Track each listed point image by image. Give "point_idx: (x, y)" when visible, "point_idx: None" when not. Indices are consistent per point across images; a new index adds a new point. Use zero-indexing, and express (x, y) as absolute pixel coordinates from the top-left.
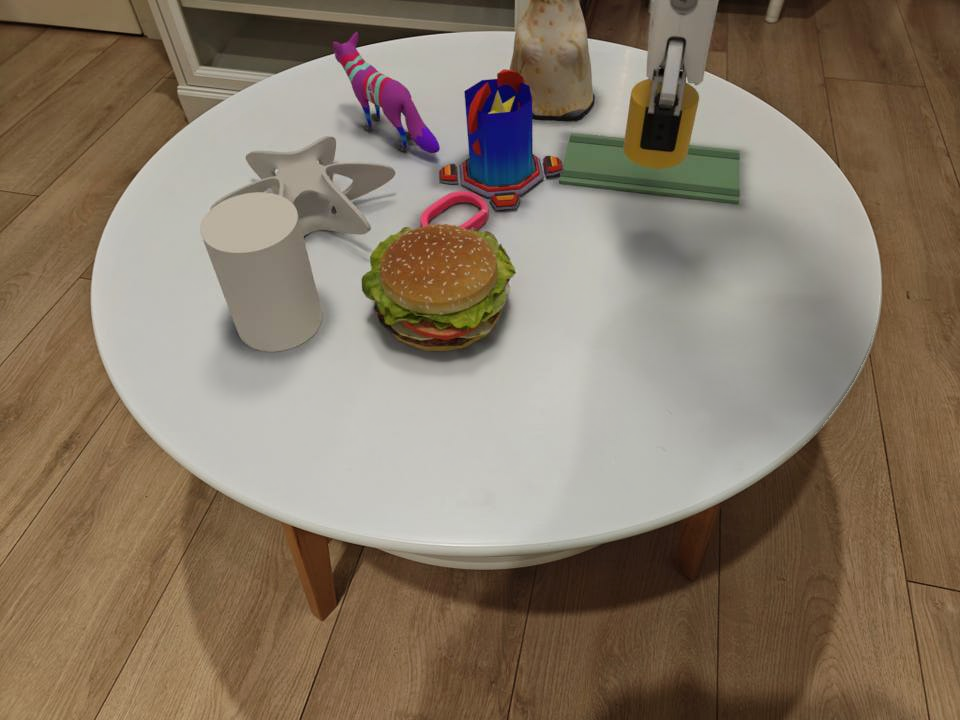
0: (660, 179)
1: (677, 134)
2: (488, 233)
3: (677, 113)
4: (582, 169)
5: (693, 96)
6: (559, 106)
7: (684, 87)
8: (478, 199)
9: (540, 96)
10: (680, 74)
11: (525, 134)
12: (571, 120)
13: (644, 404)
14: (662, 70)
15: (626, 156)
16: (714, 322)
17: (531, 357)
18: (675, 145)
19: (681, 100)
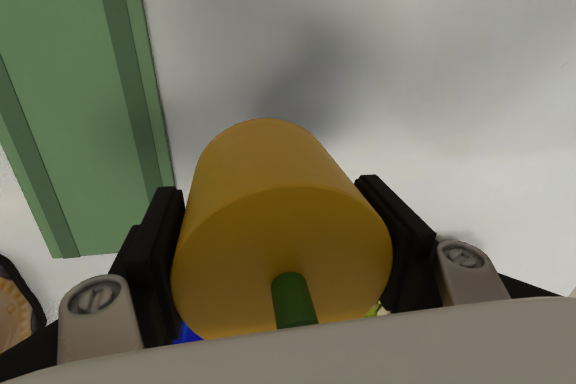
0: (122, 111)
1: (396, 195)
2: (377, 305)
3: (477, 256)
4: None
5: (285, 204)
6: (1, 295)
7: (228, 240)
8: None
9: (6, 329)
10: (150, 273)
11: (193, 339)
12: (11, 264)
13: (548, 92)
14: (162, 330)
15: (78, 174)
16: (443, 5)
17: (471, 205)
18: (379, 179)
19: (500, 284)
